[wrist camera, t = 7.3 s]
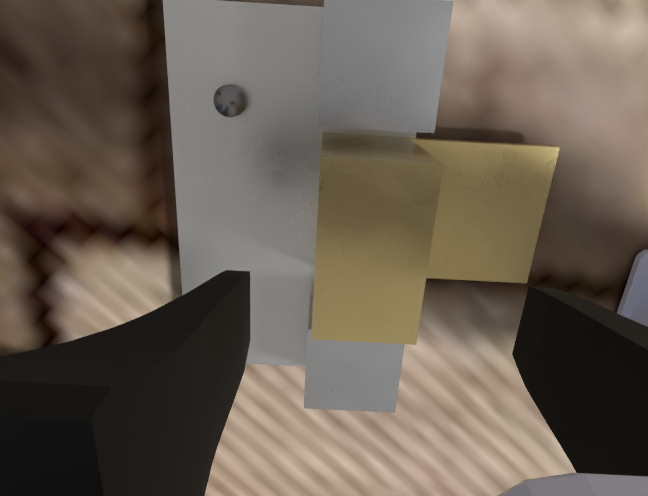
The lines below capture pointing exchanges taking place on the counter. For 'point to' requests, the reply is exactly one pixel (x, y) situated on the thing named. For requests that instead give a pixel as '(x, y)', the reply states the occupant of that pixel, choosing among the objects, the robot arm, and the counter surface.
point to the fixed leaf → (290, 156)
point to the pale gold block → (418, 226)
